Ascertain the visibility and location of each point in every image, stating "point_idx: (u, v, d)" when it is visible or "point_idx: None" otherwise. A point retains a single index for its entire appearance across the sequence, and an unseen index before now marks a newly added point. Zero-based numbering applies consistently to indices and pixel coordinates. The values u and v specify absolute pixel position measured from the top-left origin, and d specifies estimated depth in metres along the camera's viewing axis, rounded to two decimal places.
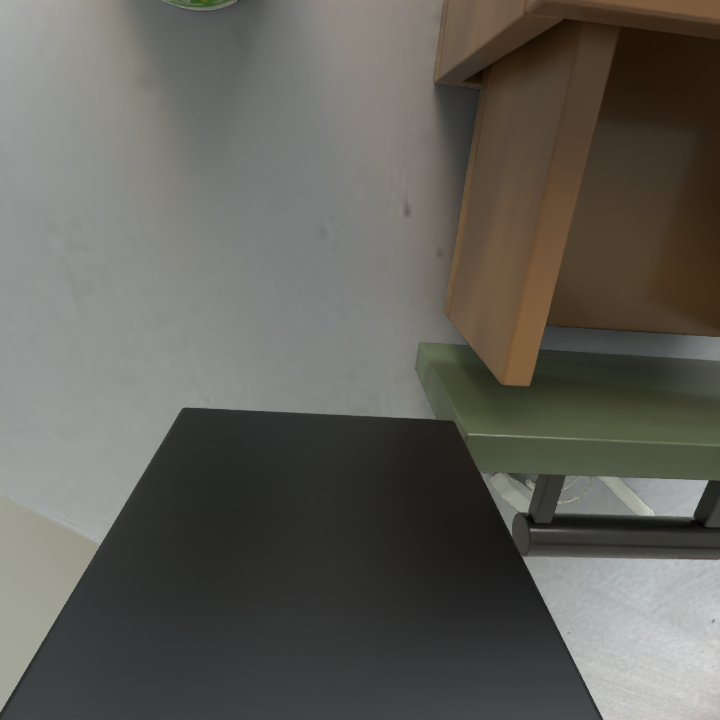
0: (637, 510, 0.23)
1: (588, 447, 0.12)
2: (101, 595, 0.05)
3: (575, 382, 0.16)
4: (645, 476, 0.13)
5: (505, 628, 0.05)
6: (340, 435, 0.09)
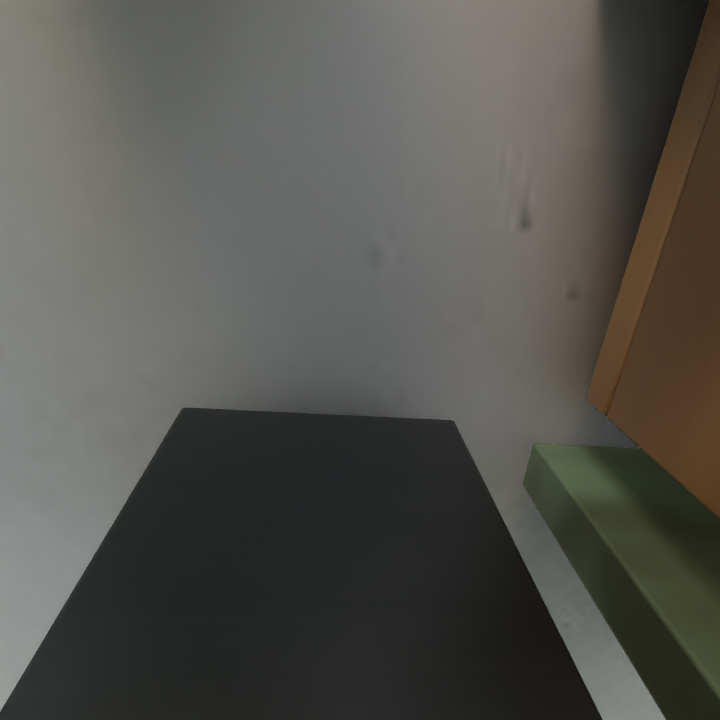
0: None
1: None
2: (101, 595, 0.05)
3: None
4: None
5: (504, 628, 0.05)
6: (340, 435, 0.09)
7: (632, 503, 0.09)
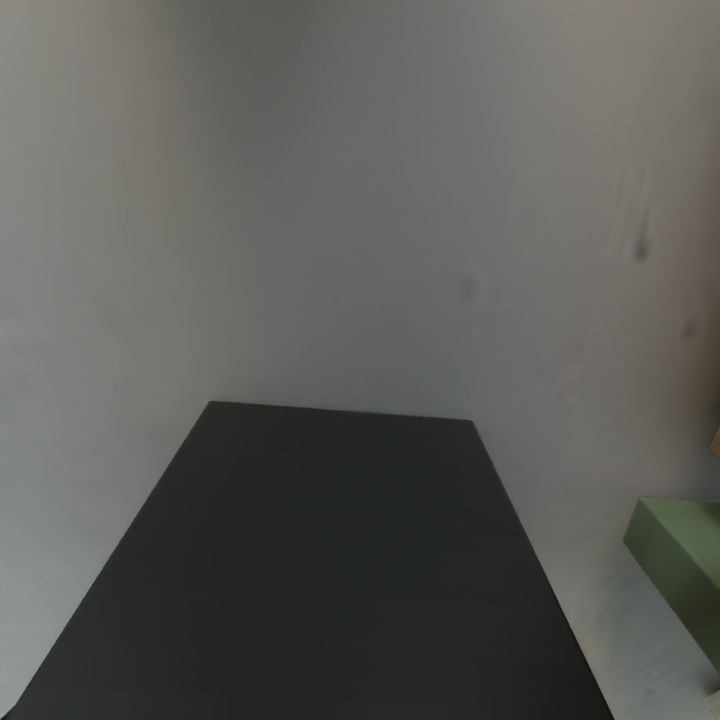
0: None
1: None
2: (131, 568, 0.05)
3: None
4: None
5: (515, 618, 0.05)
6: (359, 431, 0.09)
7: None
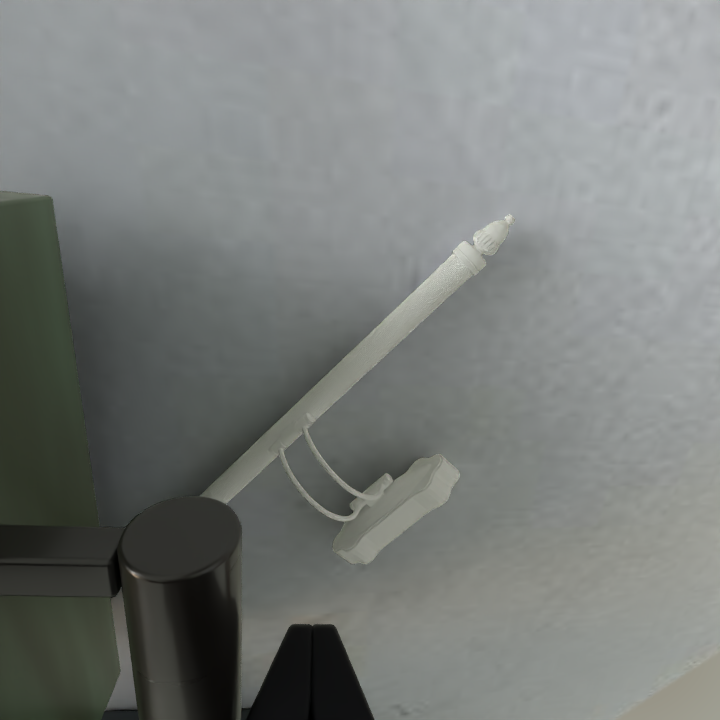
0: (446, 293, 0.10)
1: None
2: None
3: None
4: None
5: None
6: None
7: None
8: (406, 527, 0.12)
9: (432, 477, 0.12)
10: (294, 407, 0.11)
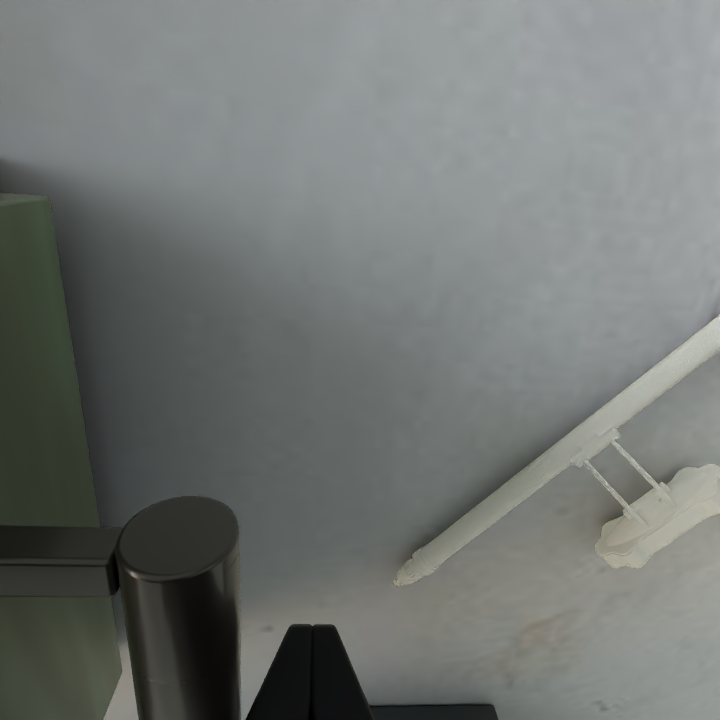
0: None
1: None
2: None
3: None
4: None
5: None
6: None
7: None
8: (680, 533, 0.13)
9: (716, 487, 0.12)
10: (592, 421, 0.12)
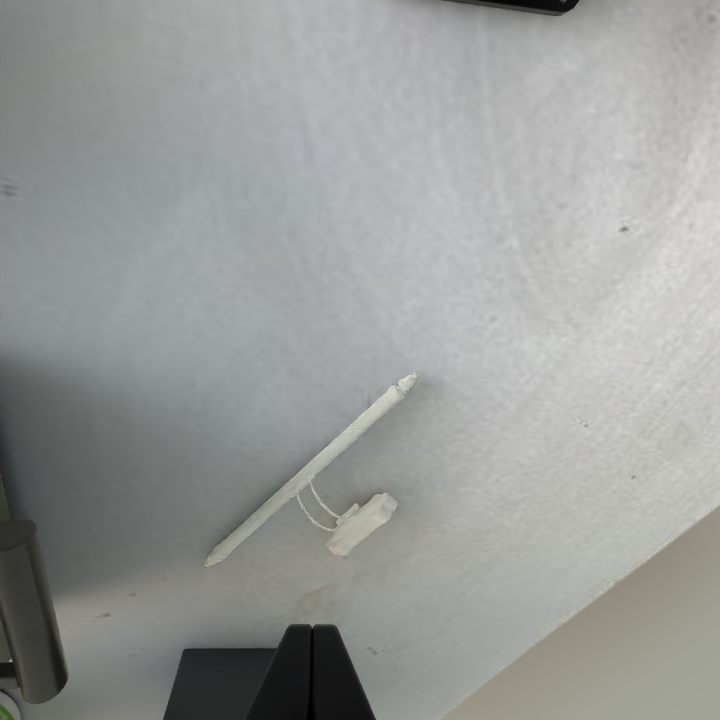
0: (384, 411, 0.20)
1: None
2: None
3: None
4: None
5: None
6: None
7: None
8: (367, 534, 0.21)
9: (381, 506, 0.21)
10: (304, 468, 0.21)
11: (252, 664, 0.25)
